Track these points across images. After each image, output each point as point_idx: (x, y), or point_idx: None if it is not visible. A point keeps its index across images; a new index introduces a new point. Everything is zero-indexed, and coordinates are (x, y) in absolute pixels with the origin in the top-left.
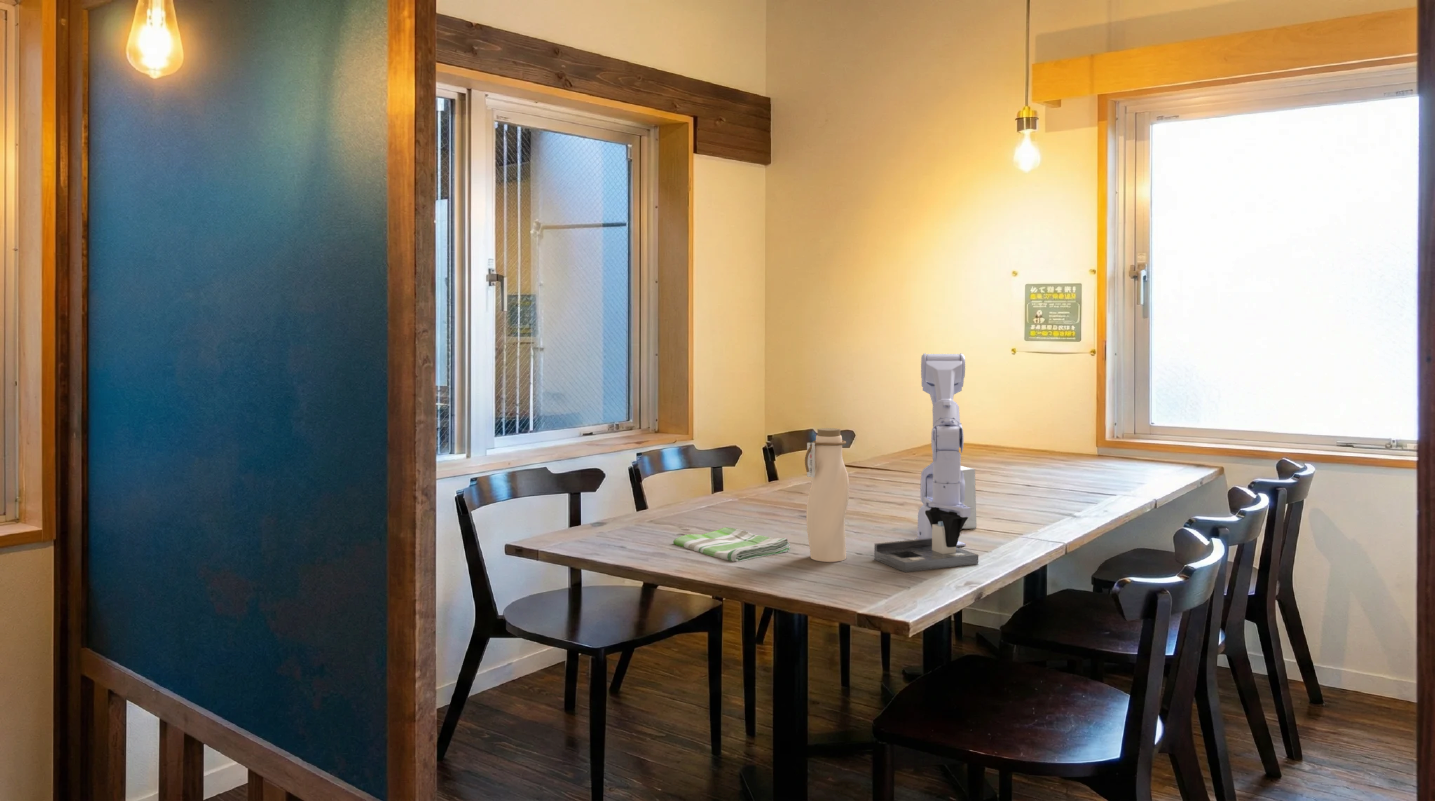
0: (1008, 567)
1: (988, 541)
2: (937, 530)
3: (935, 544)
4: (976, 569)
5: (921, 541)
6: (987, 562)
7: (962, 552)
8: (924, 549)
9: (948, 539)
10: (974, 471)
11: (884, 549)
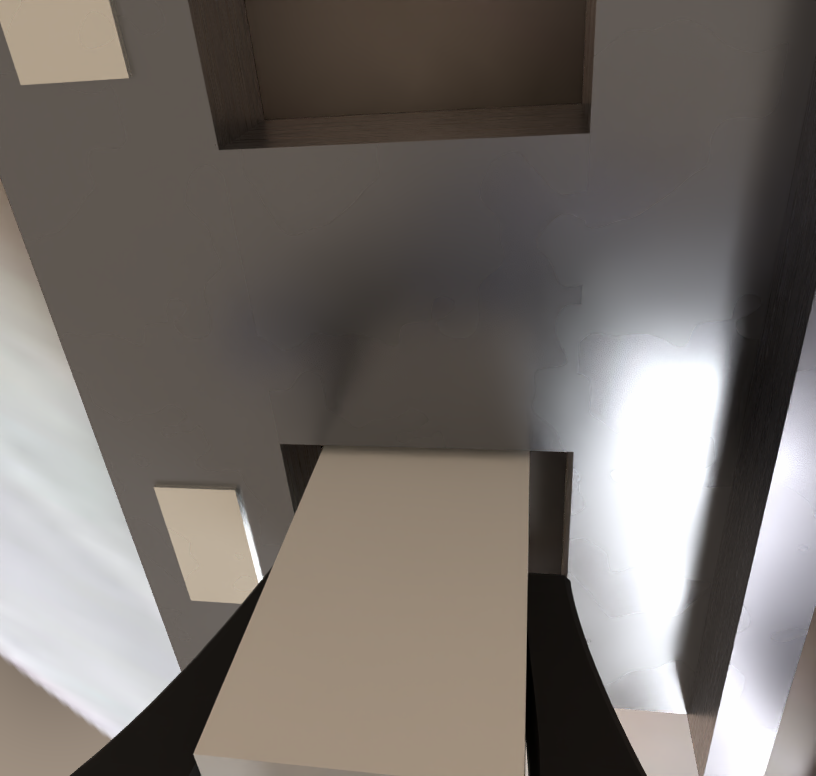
0: (93, 690)
1: None
2: (356, 692)
3: (439, 514)
4: (47, 502)
5: (758, 489)
6: None
7: None
8: (578, 391)
9: (222, 633)
10: None
11: None
